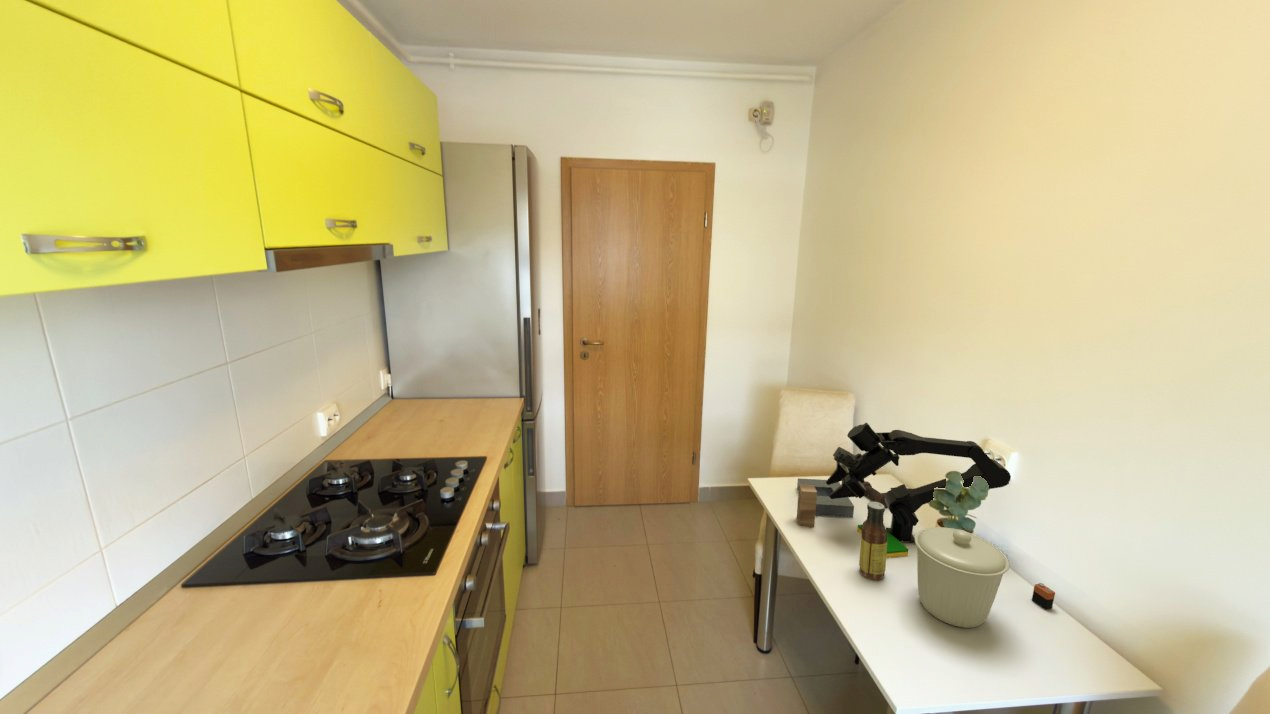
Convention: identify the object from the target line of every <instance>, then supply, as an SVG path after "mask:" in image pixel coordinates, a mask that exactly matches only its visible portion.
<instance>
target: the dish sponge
mask: <svg viewBox="0 0 1270 714" xmlns="http://www.w3.org/2000/svg"><path fill="white" fill-rule="evenodd" d="M886 531H887V530H886ZM856 532H858V533H859V534H860V535H861V534H862V524H857V529H856ZM901 556H903V557H908V556H909V548H908V547H907V546H906V545H904V544H903V542H901V541H898V540H897V539H896V538H895V537H894V536H893V535H891V534H890V533H889V532H888V531H887V553H886V559H888V558H889V557H891V559H892V558H901ZM889 559H890V558H889Z"/></svg>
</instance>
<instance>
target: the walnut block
mask: <svg viewBox="0 0 1270 714" xmlns="http://www.w3.org/2000/svg"><path fill="white" fill-rule="evenodd" d="M797 494H798V495H797V506H796V517H795V518H796V521H797V524H798V526H799V527H802V528H803V527H805V528H815V524H816V523H815V522H816V515H815V513H816V501H817V491H816V489H815V487H814V485H801V484H799V492H798V493H797Z"/></svg>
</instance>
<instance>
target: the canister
mask: <svg viewBox="0 0 1270 714" xmlns="http://www.w3.org/2000/svg"><path fill="white" fill-rule="evenodd" d="M914 538H915V542H914V543H915V545H916V547H917V565H916V566H917V568H916V569H917V592H918V597H919V600H920V602H921V604H922V605H923V607H924V608H925V609H926V610H927V612H928V613H930V614H931V616H933V617H935V618H936V619H939V620H940V621H942V622H943V623H946V624H949V625H952V626H954V627H955V626H956V627H958V628H969V629H970V628H976V627H978V626H981V625H982V624H983V623H984V622H985V621H986V620H987V619H988V616H989V614H990V612H991V609H992V606H993V604H994V602H995V599H996V597H997V593H998V590H999V588H1000V584H1001V582H1002V579H1003V576H1004V574H1005V573H1007V572H1008V571H1009V569H1010V562H1009V561H1010V560H1009V559H1008V558H1007V556H1006V555H1005V554H1004V552H1002V551H1001V550H1000V549H999V548H997V547H996V545H993V544H992V543H991V542H989V541H988V540H985V539H984V538H982V537H980V536H978V535H975V534H973V533H971V532H968V531H966V530H963V529H958V528H953V527H942V526H938V527H928V528H924V529H921V530H919V531H918V532H916V534H915V536H914Z"/></svg>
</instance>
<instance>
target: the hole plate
mask: <svg viewBox="0 0 1270 714" xmlns="http://www.w3.org/2000/svg"><path fill="white" fill-rule="evenodd" d="M827 480H828V479H818V478H817V479H816V478H815V479H813V478H799V477H798V478H797V484H796V485H797V486H796V490H797V491H798V492H799V484H801V485H814V487H815V489H816V491H817V501H816V513H815V516H819V517H820V516H823V517H834V518H835V517H837V518H838V517H839V518H840V517H841V518H852V519H853V518H854V511H855V506H854V504H853V503H852V501H851V499H850V497H845V498H837V499H831V498H830V497H829V495H830V494H831V493H832V492H834V491H835V490H836V489H837V488H838V487H839V486H840V485H841V484H842V483H840V482H837V483H834V484H830V485H827V484H826V481H827Z"/></svg>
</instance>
